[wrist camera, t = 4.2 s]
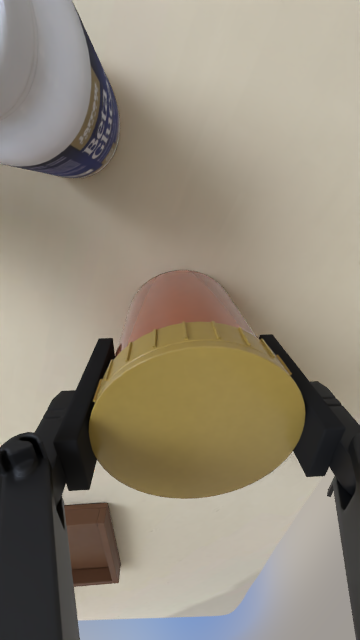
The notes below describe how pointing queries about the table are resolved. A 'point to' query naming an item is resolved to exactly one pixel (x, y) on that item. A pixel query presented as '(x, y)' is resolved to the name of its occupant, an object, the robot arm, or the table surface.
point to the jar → (179, 305)
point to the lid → (195, 411)
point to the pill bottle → (53, 92)
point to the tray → (92, 545)
